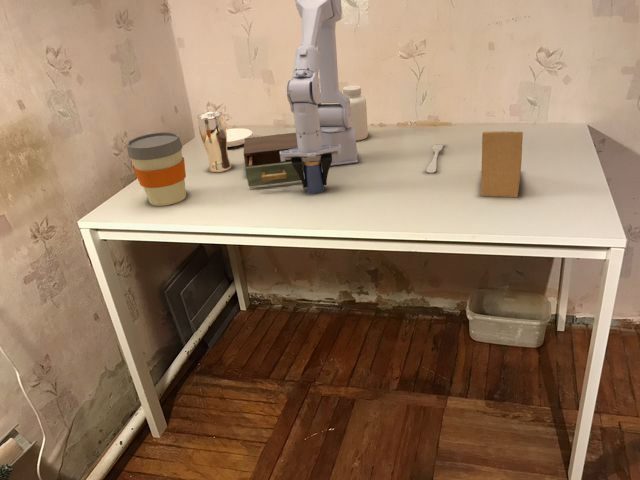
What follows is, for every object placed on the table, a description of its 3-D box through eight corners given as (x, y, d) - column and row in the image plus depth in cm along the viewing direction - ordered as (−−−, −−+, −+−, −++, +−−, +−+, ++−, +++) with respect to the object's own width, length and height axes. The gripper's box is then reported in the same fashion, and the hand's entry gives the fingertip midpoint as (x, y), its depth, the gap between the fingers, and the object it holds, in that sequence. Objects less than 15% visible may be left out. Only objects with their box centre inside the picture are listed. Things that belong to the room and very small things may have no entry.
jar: (323, 185, 145) (320, 154, 141) (325, 192, 141) (322, 161, 137) (305, 188, 144) (301, 157, 140) (306, 194, 140) (302, 163, 136)
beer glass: (227, 173, 158) (216, 118, 150) (203, 172, 159) (192, 118, 152) (237, 164, 163) (227, 111, 156) (214, 164, 165) (203, 111, 157)
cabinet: (302, 170, 155) (299, 147, 152) (247, 177, 154) (243, 153, 150) (299, 154, 167) (296, 132, 163) (248, 160, 165) (244, 138, 162)
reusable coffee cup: (152, 190, 150) (136, 133, 143) (199, 187, 150) (186, 130, 142) (134, 210, 140) (116, 150, 132) (185, 207, 139) (170, 146, 131)
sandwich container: (520, 172, 143) (524, 111, 135) (518, 197, 130) (523, 131, 122) (484, 171, 145) (486, 111, 137) (479, 196, 132) (482, 131, 125)
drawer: (303, 186, 143) (300, 167, 140) (248, 192, 142) (245, 174, 139) (299, 163, 157) (296, 146, 155) (249, 169, 156) (246, 152, 154)
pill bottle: (368, 140, 173) (365, 89, 166) (341, 142, 174) (337, 91, 166) (368, 132, 180) (365, 83, 173) (342, 134, 181) (338, 85, 173)
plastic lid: (216, 153, 173) (215, 145, 172) (203, 142, 184) (201, 134, 182) (260, 143, 179) (259, 135, 177) (244, 133, 189) (243, 125, 188)
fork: (425, 181, 148) (425, 171, 147) (435, 146, 164) (434, 137, 163) (436, 181, 148) (436, 171, 146) (445, 146, 164) (445, 137, 162)
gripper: (277, 139, 131) (285, 195, 138) (340, 131, 132) (345, 187, 139) (276, 130, 137) (284, 184, 144) (337, 123, 138) (342, 177, 145)
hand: (314, 185), depth 142 cm, fingers closed on jar, 4 cm apart
